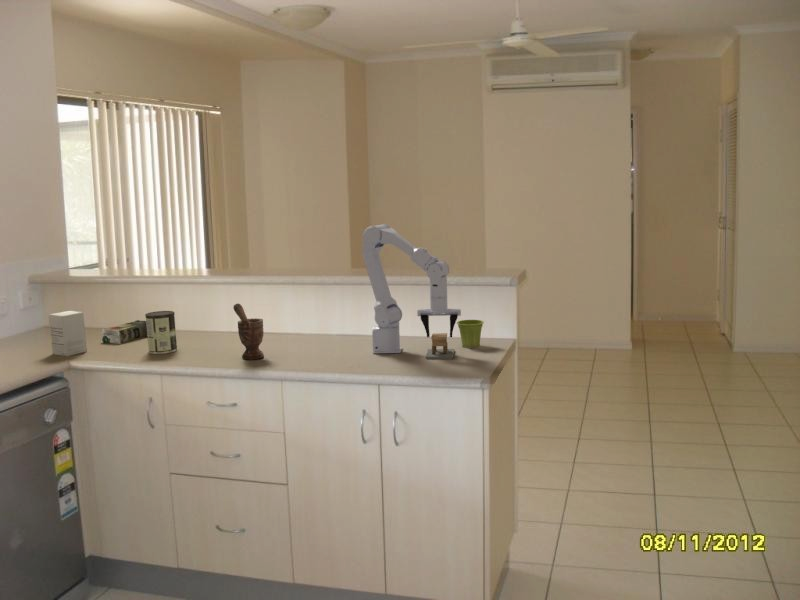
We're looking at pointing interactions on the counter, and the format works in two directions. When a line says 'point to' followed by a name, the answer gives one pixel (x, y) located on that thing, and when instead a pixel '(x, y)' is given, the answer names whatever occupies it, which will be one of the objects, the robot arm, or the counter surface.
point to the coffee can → (161, 332)
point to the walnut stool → (439, 342)
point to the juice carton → (125, 332)
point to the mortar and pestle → (249, 334)
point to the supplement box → (67, 333)
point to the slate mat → (440, 354)
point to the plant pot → (470, 332)
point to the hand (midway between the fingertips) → (439, 336)
